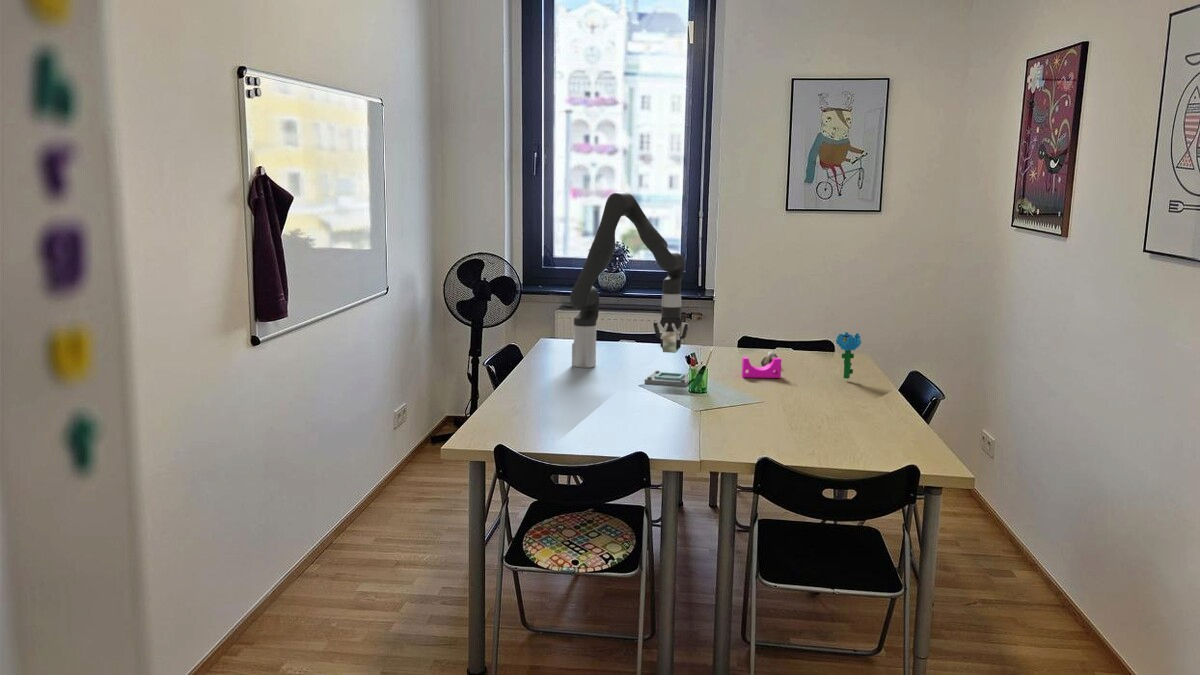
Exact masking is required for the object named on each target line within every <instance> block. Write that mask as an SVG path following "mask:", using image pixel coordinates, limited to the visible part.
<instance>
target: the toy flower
mask: <svg viewBox="0 0 1200 675" xmlns="http://www.w3.org/2000/svg"><path fill="white" fill-rule="evenodd" d="M835 343H836V345H838V347H840V349H841V350H843V351H844V352H843V353H841V359H844V360H843V365H844V366H843V379H847V380H848V379H850V377H851V375H852V374H854V368H852V365H853V364H852V361H851V359H854V357H855V353H852V351H856V350H857V349H858V348H859V347H860V346H861V344H862V340H861V336H860V333H859V332H856V333H855V334H854V335H853V334H850V333H849V332H848V331H845V333H844V334H843V333H838V335H837V338H836V340H835Z"/></svg>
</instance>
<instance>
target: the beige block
mask: <svg viewBox="0 0 1200 675" xmlns="http://www.w3.org/2000/svg"><path fill="white" fill-rule="evenodd" d="M662 331H663V330H662ZM677 331H678V330H677ZM676 336H677V335H676V332H673V331H663V349H662V353H668V354H669V353H672V354H676V353H678V352H679V350H676V340H677V338H676Z"/></svg>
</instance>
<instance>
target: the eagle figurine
mask: <svg viewBox="0 0 1200 675" xmlns="http://www.w3.org/2000/svg"><path fill="white" fill-rule="evenodd" d="M766 355H767V356H764V357H763V358H762V360H761V362H760V364H761V367H764V366H766V365H767V364H770V363H771V362H772V360H773V358H779V357H778V355H777V354H776V353H775V351H774V350H769V351H768V352H767V354H766Z"/></svg>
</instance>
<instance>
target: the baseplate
mask: <svg viewBox="0 0 1200 675" xmlns="http://www.w3.org/2000/svg"><path fill="white" fill-rule="evenodd" d="M689 373H690V372H687V373H680V372H667V371H665V372H664V371H663V372H662V371H661V372H660V370H655V371H654V372H653V373H651V374H650V375H648V376H647V377H646V378H645V379H644V384H646V385H647V384H649V385H661V386H673V387H675V386H676V387H687V386H688V385H689V384H688V381H689V380H688V374H689Z"/></svg>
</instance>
